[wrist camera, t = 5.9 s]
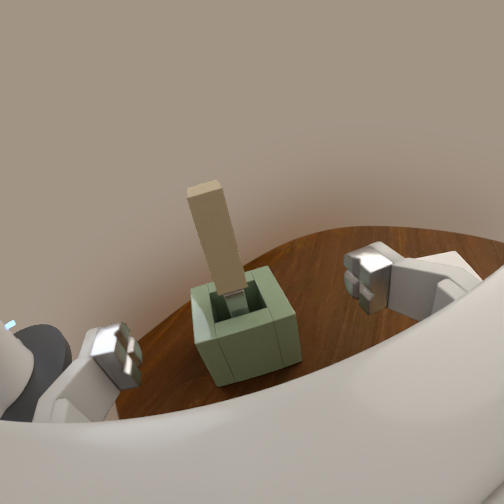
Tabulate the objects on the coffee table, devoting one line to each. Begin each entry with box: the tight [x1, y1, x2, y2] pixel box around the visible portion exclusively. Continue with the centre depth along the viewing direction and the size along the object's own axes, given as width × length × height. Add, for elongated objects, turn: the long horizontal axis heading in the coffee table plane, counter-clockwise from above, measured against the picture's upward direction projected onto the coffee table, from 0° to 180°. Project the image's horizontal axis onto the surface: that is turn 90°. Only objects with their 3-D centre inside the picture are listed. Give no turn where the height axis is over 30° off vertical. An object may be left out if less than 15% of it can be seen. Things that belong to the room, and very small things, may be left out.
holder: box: [191, 266, 302, 387], centre depth 25 cm, size 8×8×6 cm
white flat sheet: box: [416, 251, 483, 282], centre depth 28 cm, size 8×8×1 cm
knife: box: [187, 180, 250, 318], centre depth 23 cm, size 2×4×16 cm, turn 13°
